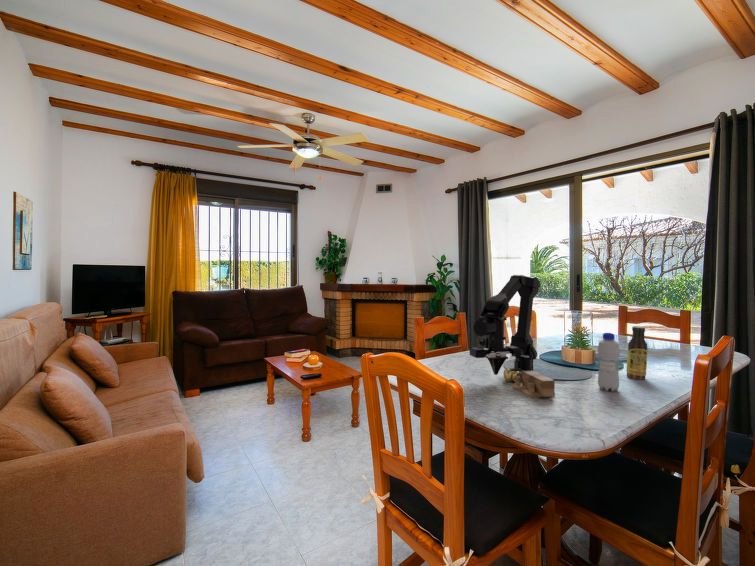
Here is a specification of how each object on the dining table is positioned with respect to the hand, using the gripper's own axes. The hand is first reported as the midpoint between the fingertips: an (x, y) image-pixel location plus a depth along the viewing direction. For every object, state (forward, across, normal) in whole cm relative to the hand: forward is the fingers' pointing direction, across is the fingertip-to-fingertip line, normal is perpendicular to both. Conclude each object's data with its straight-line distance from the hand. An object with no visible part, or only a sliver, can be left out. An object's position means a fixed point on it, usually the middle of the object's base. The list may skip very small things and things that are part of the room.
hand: (495, 374), depth 138 cm
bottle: (+3, -34, +16) cm, 38 cm away
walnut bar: (+2, -8, +14) cm, 16 cm away
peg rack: (+3, -8, +12) cm, 14 cm away
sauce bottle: (+3, -55, +7) cm, 56 cm away
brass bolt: (+3, -8, 0) cm, 9 cm away
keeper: (+3, -10, 0) cm, 10 cm away
